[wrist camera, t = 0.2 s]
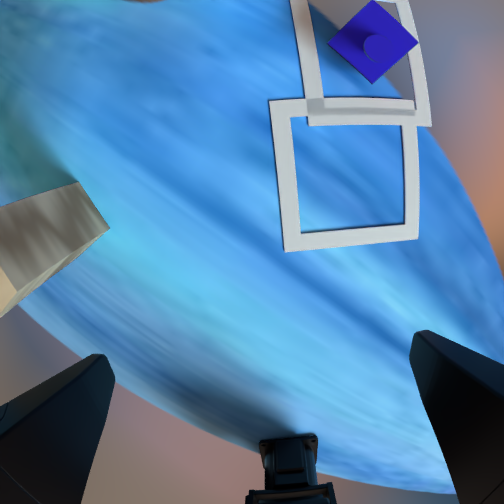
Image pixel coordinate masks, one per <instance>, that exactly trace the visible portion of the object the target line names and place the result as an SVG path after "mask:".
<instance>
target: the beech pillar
mask: <svg viewBox="0 0 504 504" xmlns="http://www.w3.org/2000/svg"><path fill="white" fill-rule="evenodd" d="M109 229H110V227H109V226H108V224H107V223H106V222H105V220H104V219H103V217H102V216H101V214H100V213H99V211H98V210H97V208H96V207H95V206H94V204H93V203H92V201H91V200H90V198H89V197H88V195H87V193H86V192H85V190H84V189H83V187H82V186H81V184H80V183H79V182H77V183H73V184H70V185H66V186H63V187H59V188H56V189H53V190H49V191H46V192H43V193H40V194H37V195H34V196H31V197H28V198H25V199H22V200H19V201H16V202H13V203H10V204H7V205H5V206H2V207H0V318H1V317H2V316H3V315H4V314H6V313H7V312H8V311H9V310H10V309H12V308H13V307H14V306H15V305H16V304H18V303H19V302H20V301H21V300H22V299H24V298H25V297H26V296H27V295H29V294H30V293H31V292H32V291H34V290H35V289H36V288H38V287H39V286H40V285H41V284H43V283H44V282H45V281H47V280H48V279H49V278H51V277H52V276H53V275H55V274H56V273H57V272H59V271H60V270H61V269H63V268H64V267H65V266H67V265H68V264H69V263H71V262H72V261H74V260H75V259H76V258H78V257H79V256H80V255H81V254H82V253H83V252H84V251H85V250H86V249H87V248H88V247H89V246H91V245H92V244H93V243H94V242H95V241H96V240H97V239H98V238H99V237H101V236H102V235H103V234H104V233H105V232H106V231H107V230H109Z"/></svg>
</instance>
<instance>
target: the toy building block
mask: <svg viewBox="0 0 504 504" xmlns="http://www.w3.org/2000/svg"><path fill="white" fill-rule="evenodd" d="M418 43H419V42H418V41H417V40H416V39H415V38H414V37H413V36H412V35H411V34H410V33H409V32H408V31H407V30H406V29H405V28H404V27H403V26H402V25H401V24H400V23H399V22H398V21H397V20H396V19H394V18H393V17H392V16H391V15H390V14H389V13H388V12H387V11H385V10H384V9H383V8H382V7H381V6H380V5H379V4H377V3H376V2H375V1H374V0H371V1H370V2H369V3H368V4H367V5H366V6H364V7H363V8H362V9H361V10H360V11H359V12H358V13H357V14H356V15H355V16H354V17H353V18H352V19H351V20H350V21H349V22H348V23H347V24H346V25H345V26H344V27H343V28H342V29H341V30H340V31H339V32H338V33H337V34H336V35H335V36H334V37H333V38H332V39H331V40H330V41H329V42H328V43H327V44H328V45H329V46H330V47H331V48H333V49H334V50H335V51H336V52H337V53H339V54H340V55H341V56H342V57H343V58H344V59H345V60H347V61H348V62H349V63H350V64H351V65H352V66H353V67H354V68H355V69H357V70H358V71H359V72H360V73H361V74H362V75H363V76H364V77H365V78H366V79H367V80H368V81H369V82H370V83H371V84H373V83H374V82H375V81H377V80H378V79H379V78H380V77H381V76H382V75H383V74H384V73H385V72H387V71H388V69H390V68H391V67H392V66H393V65H394V64H395V63H397V62H398V61H399V60H400V59H401V58H402V57H403V56H404V55H406V54H407V53H408V52H409V51H410V50H411V49H412V48H414V47H415V46H416V45H417V44H418Z"/></svg>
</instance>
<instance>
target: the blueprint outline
mask: <svg viewBox="0 0 504 504" xmlns="http://www.w3.org/2000/svg"><path fill="white" fill-rule="evenodd" d="M377 1H384V2H391V3H395V4H396V8H397V12H398V15H399V19H400V23H401V25H402V26H403V27H404V28H405V29H406V30H407V31H408V32H409V33H410V34H411V35H412V36H413V37H414V38H415V39H416V40H417V41H418V42H419V40H418V36H417V32H416V28H415V24H414V20H413V16H412V13H411V9H410V5H409V2H408V0H377ZM290 4H291V10H292V15H293V20H294V26H295V32H296V38H297V44H298V50H299V56H300V63H301V69H302V76H303V84H304V91H305V99H291V100H277V101H269V104H270V112H271V120H272V129H273V138H274V146H275V156H276V165H277V174H278V184H279V194H280V205H281V215H282V226H283V238H284V249H285V252H293V251H303V250H314V249H324V248H334V247H344V246H354V245H363V244H373V243H383V242H393V241H403V240H413V239H418V231H419V158H418V141H417V128H416V126H427V127H432V125H431V124H432V123H431V113H430V105H429V96H428V90H427V82H426V76H425V70H424V65H423V59H422V55H421V49H420V45H419V43H418V44H417V45H416V46H415V47H414V48H412V49H411V50H410V51H409V52H408V53H407V55H408V60H409V65H410V71H411V77H412V83H413V90H414V98H415V106H416V110H415V108H414V101H413V100H402V99H385V98H324V96H323V89H322V82H321V75H320V68H319V61H318V55H317V49H316V43H315V38H314V32H313V27H312V21H311V16H310V11H309V6H308V2H307V0H290ZM302 116H308V124H309V126H326V125H401V128H402V140H403V155H404V179H405V224H402V225H390V226H379V227H367V228H356V229H345V230H334V231H323V232H312V233H302V234H301V231H300V217H299V205H298V193H297V181H296V171H295V160H294V151H293V141H292V132H291V123H290V117H302Z"/></svg>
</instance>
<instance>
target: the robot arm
mask: <svg viewBox="0 0 504 504" xmlns="http://www.w3.org/2000/svg"><path fill="white" fill-rule="evenodd" d="M409 360H410V364H411V368H412V371H413V374H414V377H415V380H416V383H417V386H418V390H419V393H420V396H421V400H422V403H423V405H424V408H425V410H426V413H427V415H428V418H429V420H430V422H431V425H432V427H433V430H434V432H435V435H436V437H437V440H438V443H439V445H440V448H441V450H442V453H443V456H444V459H445V461H446V464H447V467H448V470H449V473H450V475H451V478H452V481H453V484H454V487H455V490H456V493H457V497H458V499H459V503H460V504H504V365H503V364H501V363H499V362H497V361H494V360H492V359H490V358H488V357H486V356H484V355H482V354H479V353H477V352H475V351H473V350H471V349H469V348H466V347H464V346H462V345H460V344H458V343H456V342H453V341H451V340H449V339H447V338H445V337H443V336H440V335H438V334H436V333H434V332H432V331H430V330H423V331H418V332H416V333H415V334H414V336H413V340H412V345H411V350H410V355H409ZM114 384H115V375H114V372H113V370H112V368H111V366H110V363H109V361H108V359H107V357H106V356H105V355H104V354H91V355H90V356H88V357H86V358H84V359H83V360H81V361H79V362H77V363H76V364H74V365H72V366H71V367H69V368H67V369H65V370H63V371H62V372H60V373H58V374H56V375H55V376H53V377H51V378H49V379H48V380H46V381H44V382H42V383H41V384H39V385H37V386H36V387H34V388H32V389H30V390H28V391H27V392H25V393H23V394H21V395H19V396H18V397H16V398H14V399H13V400H11V401H9V402H7V403H5V404H3V405H2V406H0V504H81V501H82V497H83V494H84V490H85V486H86V483H87V480H88V476H89V473H90V469H91V466H92V463H93V459H94V456H95V453H96V450H97V447H98V444H99V440H100V437H101V434H102V431H103V428H104V425H105V422H106V418H107V414H108V410H109V405H110V401H111V397H112V393H113V389H114ZM259 448H260V453H261V458H262V463H263V468H264V469H265V490H249V495H247V496H246V498H245V504H337V503H336V498H335V493H334V489H333V484H332V482H328V483H326V484H320V485H318V482H317V474H316V466H315V464H316V461H317V448H318V437H317V436H308V437H299V438H288V439H276V440H262V441H260V442H259Z"/></svg>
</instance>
